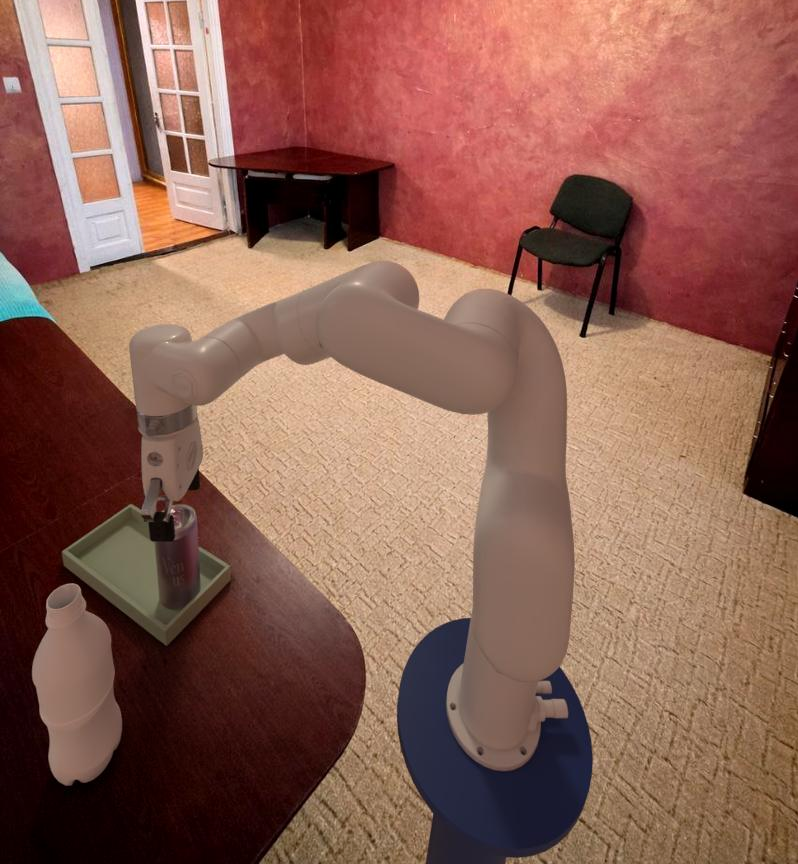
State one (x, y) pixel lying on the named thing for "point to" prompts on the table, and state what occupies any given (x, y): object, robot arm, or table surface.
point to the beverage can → (179, 561)
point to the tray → (138, 573)
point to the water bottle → (76, 688)
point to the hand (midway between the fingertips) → (177, 512)
